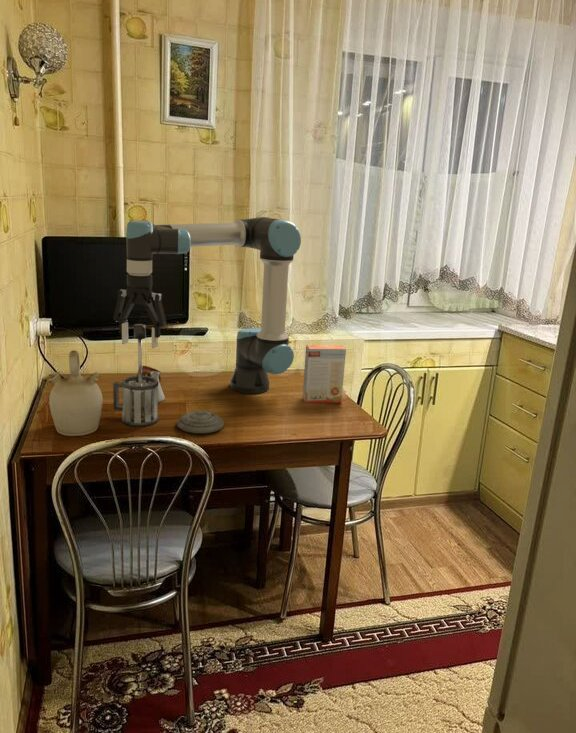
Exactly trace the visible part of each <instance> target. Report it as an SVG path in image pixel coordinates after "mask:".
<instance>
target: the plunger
mask: <svg viewBox="0 0 576 733" xmlns="http://www.w3.org/2000/svg"><path fill="white" fill-rule="evenodd" d="M146 329H147V325H146V324H143V323H135V324H133V338H134V339H136V340H137V372H138V373H137V374H138V382H137V383H131V384H129V383H128V384H129V385H132V386H146V385H151V384H150V383H144V382H142V366H143V340H144V339H147V335H146V334H147V330H146ZM151 391H152V389H151ZM132 393H134V390H132ZM141 393H144V391H141Z"/></svg>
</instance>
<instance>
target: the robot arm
mask: <svg viewBox="0 0 576 733" xmlns="http://www.w3.org/2000/svg"><path fill="white" fill-rule="evenodd" d="M301 236H302V235H301V232H300V229H299V228H298V227H297V226H296V225H295V224H294V222H291V221H289V220H285V219H282V218H272V217H267V216H260V217H250V218H246V219H245V218H244V219H235V220H234V221H233V222H215V223H214V222H212V223H211V222H210V223H209V222H207V223H180V224H179V223H177V224H175V223H173V224H170V223H169V224H154V223H152V222H151V221H145V220H143V221H142V220H131V221H129V222H127V224H126V232H125V238H126V241H125V242H126V272H127V274H126V286H127V288H126V289H124V288H121V289H118V290H117V292H116V293H117V300H116V304H115V309H114V313H113V321H116V322H118V324H119V325H118V327H119V328H118V330H119V333H120V334H121V344H122V345H126V344H129V322H128V320H127V319H128V317H129V315H130V314H131V312H132V310H133V308H134V306H135V305H141V306H143V307H144V309H145V310H146V312H147V314H148V316H149V318H150V320H151V322H152V324H153V327H151V349H156V348H157V347H159V338H160V337H161V327H164V326H166V325H167V318H166V315H165V314H166V313H165V309H164V307H163V306H164V305H163V301H162V300H163V294H162V293H161V292H160V293H156V292H154V291H153V275H152V273H153V255H154V254H155V255H159V254H161V255H162V254H163V255H166V254H167V255H172V254H174V255H181V254H187V253H189V251H190V249H191V247H192V248H193V247H211V246H213V247H216V246H231V245H232V246H234V245H235V247H236V248H249V249H254V250H259V259H260V260H261V262H262V263H263V276H262V277H263V278H262V281H263V282H262V302H261V303H262V304H261V320H260V321H261V322H260V325H261V326H260V328H242V329H240V330H238V331H237V334H236V338H235V339H236V348H235V349H236V350H235V351H236V352H235V353H236V354H235V368H234V371H233V373H232V376H231V379H230V383H229V385H230V389H231V390H233V391H235V392H239V393H241V394H242V393H243V394H261V393H265V392H267V391H269V389H270V380H269V376H268V373H269V374H272V375H281V374H283V373H285V372H286V371H287V370H288V368H290V367H291V366H292V364H293V362H294V358H295V355H294V354H295V353H294V349H292V347H291V346H290V345H289V342H290V341H289V339H290V337H289V335H288V333H287V332H286V318H287V317H286V316H287V303H288V302H287V301H288V299H287V298H288V283H289V281H288V280H289V268H290V267H289V266H290V264H291V263H292V262H294V257H295V256H294V255H296V254H297V252H298V250H299V249H300V247H301V244H302V237H301ZM126 296H127V297H128V298H129V299H128V300H127V303H126V306H125V305H124V304H125V300H126ZM152 298H153V301H154V304H153V302H152V300H151V299H152ZM153 305H154V306H155V308H154V306H153ZM124 306H125V307H124ZM123 309H124V310H123Z"/></svg>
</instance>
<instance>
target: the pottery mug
mask: <svg viewBox="0 0 576 733" xmlns="http://www.w3.org/2000/svg"><path fill="white" fill-rule="evenodd" d="M151 372H159V383H160V384H161V380H162V377H161V371H160V370H158V369H156V368H154V367H151V366H148V365H142V376H149V377H151V375H150V373H151ZM136 373H137V374H136V376H138V371H137V372H136ZM137 382H138V380H136V383H137ZM146 383H148V381H147V380H146Z"/></svg>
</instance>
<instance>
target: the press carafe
mask: <svg viewBox="0 0 576 733" xmlns="http://www.w3.org/2000/svg"><path fill="white" fill-rule="evenodd" d="M136 380H138V376H137V375H135V376H134V375H132V376H127V377H125V378H123V379H121V382H119V381H114V382H112V388H113V389H112V390H113V396H112V397H113V410H115V411H122V416H121V422H122V423H123V425H126V426H131V427H136V428H137V427H139V428H140V427H149V426H152V425H155V424H157V423H158V422H159V414H158V408H159V407H158V403H159V402H158V381H157V379H156V378H153V377H149V376H147V375H145V376H142V382H144V383H146V380H147V381H148V383H150V384H151V385H146V386H132V385H129V384H131V383H136ZM120 388H121V390H122V391H121V392H122V395H121V396H122V398H121V400H122V401H121V402H122V405H120V400H119V399H120V397H119V396H120V394H119V393H120V391H119V389H120ZM151 389H152V391H151ZM132 390H134V393H132ZM141 391H144V393H141Z"/></svg>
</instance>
